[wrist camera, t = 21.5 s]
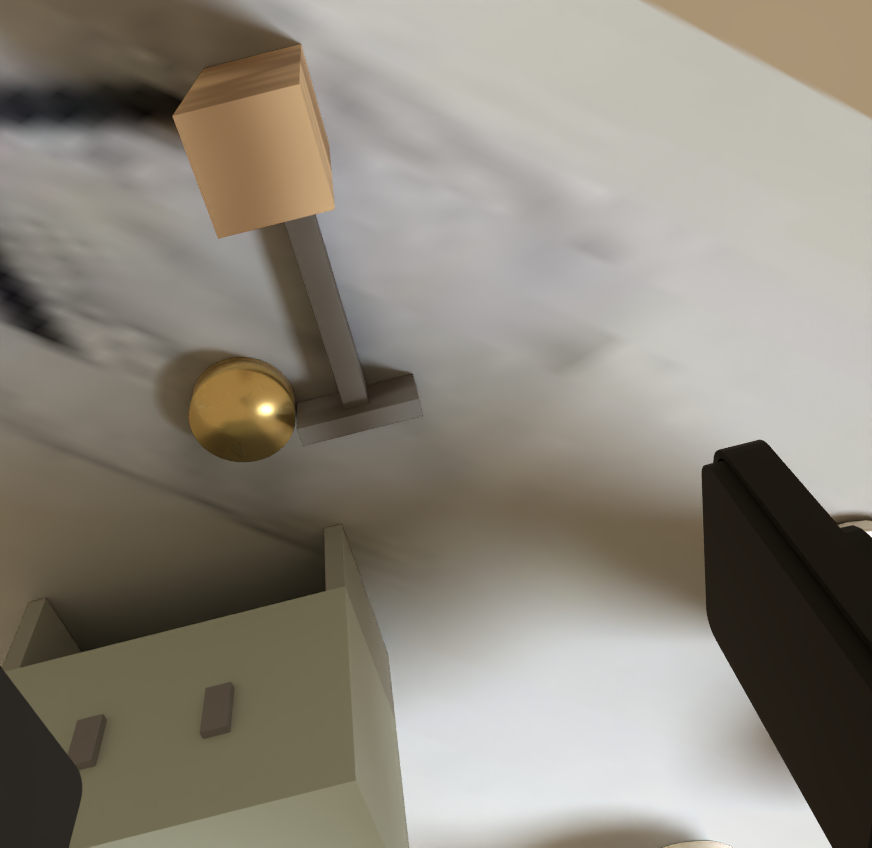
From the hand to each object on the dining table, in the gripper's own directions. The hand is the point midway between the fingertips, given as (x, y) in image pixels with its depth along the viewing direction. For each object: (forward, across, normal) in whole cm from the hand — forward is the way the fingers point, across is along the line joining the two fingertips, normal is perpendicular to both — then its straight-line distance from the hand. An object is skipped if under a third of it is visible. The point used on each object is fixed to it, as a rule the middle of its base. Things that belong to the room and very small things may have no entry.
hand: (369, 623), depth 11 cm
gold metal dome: (+28, +8, +12) cm, 32 cm away
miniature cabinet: (+28, +14, +26) cm, 41 cm away
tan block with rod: (+28, +2, +5) cm, 29 cm away
